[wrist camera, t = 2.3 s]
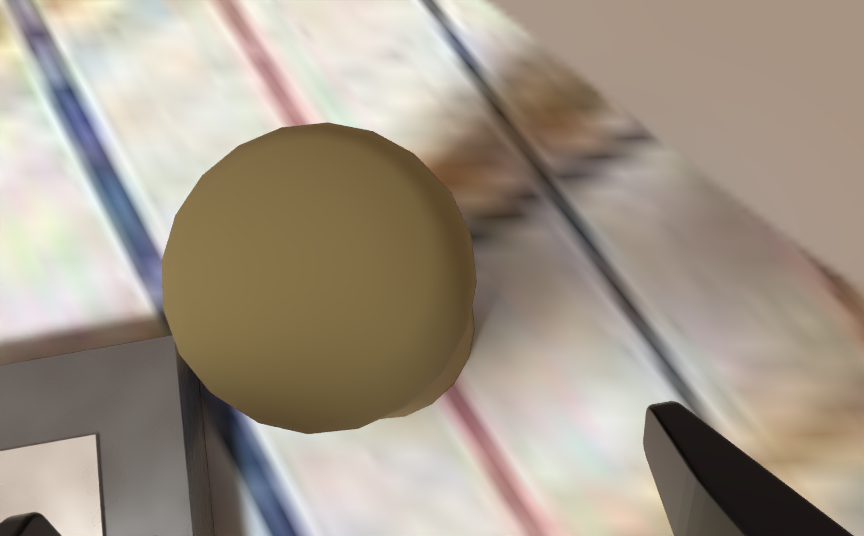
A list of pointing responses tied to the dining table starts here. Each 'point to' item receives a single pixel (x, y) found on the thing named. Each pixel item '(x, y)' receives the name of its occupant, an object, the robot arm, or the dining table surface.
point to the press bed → (106, 442)
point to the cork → (321, 280)
